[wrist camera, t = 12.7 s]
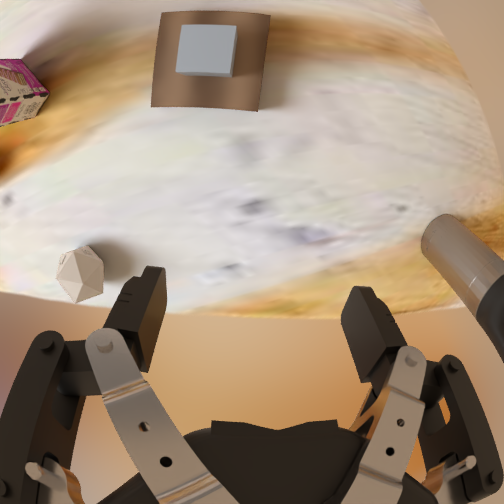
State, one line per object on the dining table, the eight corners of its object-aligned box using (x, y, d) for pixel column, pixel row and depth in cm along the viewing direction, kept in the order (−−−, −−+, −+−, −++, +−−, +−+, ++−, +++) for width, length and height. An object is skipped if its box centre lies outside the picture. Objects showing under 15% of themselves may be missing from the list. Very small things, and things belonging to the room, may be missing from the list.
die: (113, 240, 39) (61, 246, 31) (122, 295, 40) (71, 308, 31) (89, 246, 43) (43, 252, 34) (96, 294, 43) (52, 305, 35)
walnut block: (267, 24, 24) (270, 15, 21) (255, 110, 31) (257, 111, 27) (170, 20, 23) (161, 12, 20) (160, 105, 29) (150, 107, 26)
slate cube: (237, 36, 22) (236, 25, 18) (232, 77, 25) (229, 73, 21) (191, 35, 22) (181, 24, 18) (186, 75, 24) (175, 71, 20)
